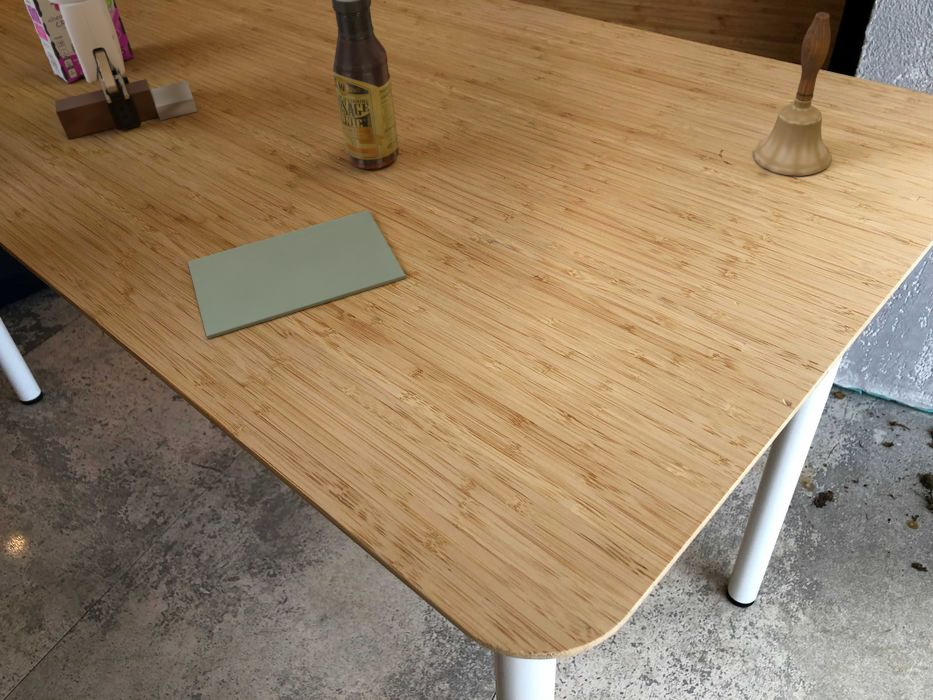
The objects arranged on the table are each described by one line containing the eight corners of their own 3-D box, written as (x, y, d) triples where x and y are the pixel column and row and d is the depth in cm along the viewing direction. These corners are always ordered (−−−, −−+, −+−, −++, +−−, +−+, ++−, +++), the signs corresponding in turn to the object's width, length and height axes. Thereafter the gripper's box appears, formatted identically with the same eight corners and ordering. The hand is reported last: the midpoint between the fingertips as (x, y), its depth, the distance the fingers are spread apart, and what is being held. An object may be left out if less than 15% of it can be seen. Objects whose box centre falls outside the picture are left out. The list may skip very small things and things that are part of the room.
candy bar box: (69, 85, 124) (19, -30, 113) (54, 76, 127) (4, -38, 116) (137, 57, 129) (96, -56, 118) (122, 49, 132) (80, -62, 121)
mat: (207, 339, 81) (206, 336, 80) (188, 264, 90) (187, 261, 89) (406, 278, 85) (405, 275, 85) (368, 212, 94) (368, 209, 94)
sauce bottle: (338, 162, 102) (303, -5, 89) (376, 140, 105) (348, -24, 92) (374, 179, 99) (344, 8, 85) (413, 156, 102) (389, -12, 88)
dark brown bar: (68, 143, 111) (55, 116, 108) (66, 123, 115) (54, 96, 113) (197, 111, 115) (188, 83, 112) (191, 93, 119) (182, 66, 116)
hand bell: (764, 132, 99) (789, -6, 88) (839, 146, 96) (874, 4, 85) (743, 167, 94) (766, 25, 83) (820, 183, 91) (855, 37, 80)
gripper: (40, -36, 107) (95, 97, 120) (43, 11, 96) (103, 152, 108) (101, -48, 109) (148, 84, 122) (111, -4, 97) (162, 138, 110)
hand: (127, 115), depth 115 cm, fingers open, 5 cm apart
